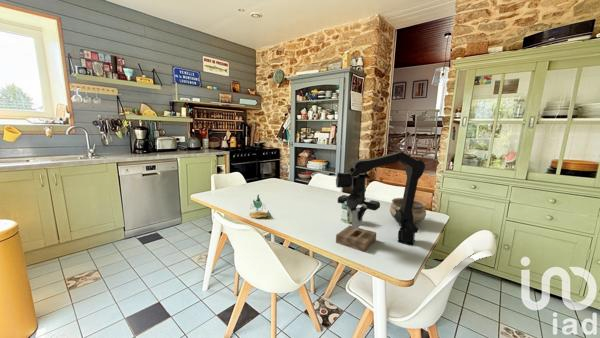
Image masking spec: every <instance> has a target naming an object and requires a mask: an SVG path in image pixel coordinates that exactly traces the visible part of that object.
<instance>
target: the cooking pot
mask: <svg viewBox="0 0 600 338" xmlns="http://www.w3.org/2000/svg"><path fill="white" fill-rule="evenodd" d="M402 201H403V197H396V198H392V199H391V204H390V208H389V213H390V215H391V216H392V217H393V219H395V217H394V216H395V214H396V209H398V210H399V209H400V208H401V206H402ZM412 212H413V217H414V219H413V224H414V225H415V224H418V223H421V222H423V221H424V219H425V218H426V216H427V211H426V203H425V202H423V201H421V200H419V199H415V198H414V203H413V208H412Z"/></svg>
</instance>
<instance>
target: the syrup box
mask: <svg viewBox="0 0 600 338" xmlns="http://www.w3.org/2000/svg"><path fill="white" fill-rule="evenodd" d="M340 204H341V203H340ZM346 205H347V203H346V202H345V203H343V204H341V210H340V221H341V222H343V223H346V224H350V223H351V224H352V213H351V210H350V208H349V207H348V206H346Z"/></svg>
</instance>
